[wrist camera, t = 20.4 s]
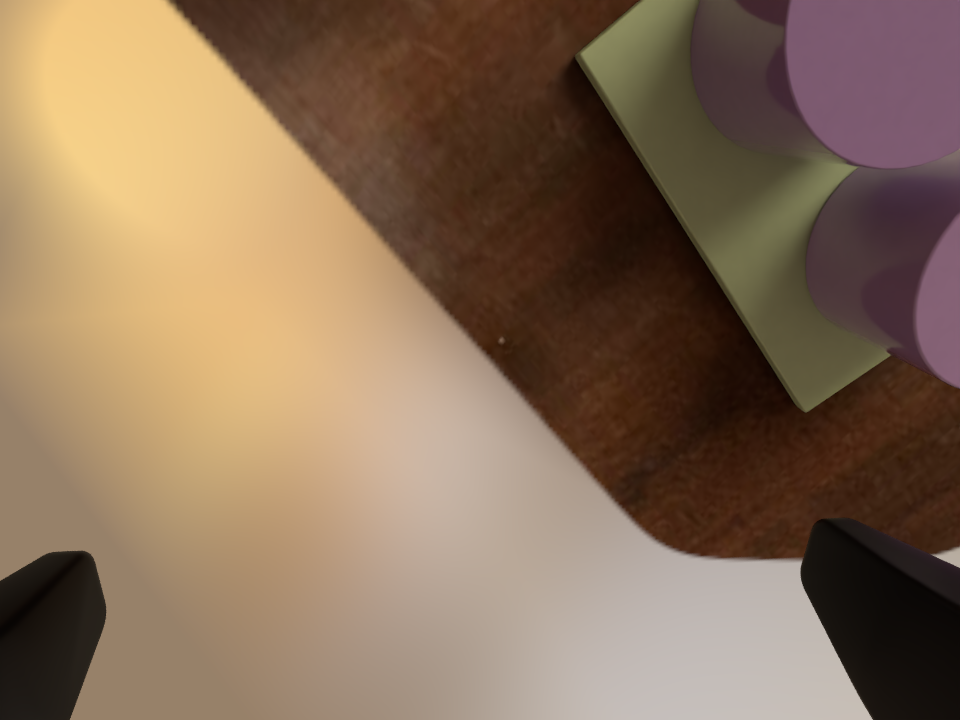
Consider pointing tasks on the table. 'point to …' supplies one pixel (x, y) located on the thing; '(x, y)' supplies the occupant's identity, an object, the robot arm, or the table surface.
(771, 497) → the table surface
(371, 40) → the table surface
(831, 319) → the lavender cylinder puck
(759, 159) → the placemat
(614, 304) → the table surface
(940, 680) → the robot arm
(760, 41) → the purple round puck
